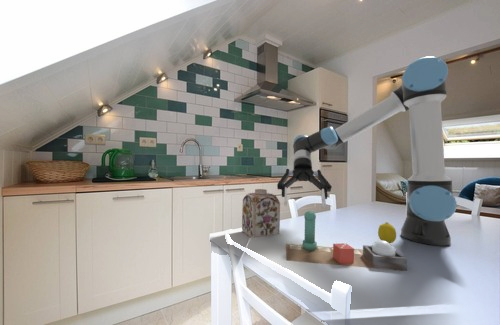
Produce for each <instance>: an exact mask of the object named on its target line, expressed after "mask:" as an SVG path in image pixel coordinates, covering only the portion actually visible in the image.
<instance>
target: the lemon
mask: <svg viewBox="0 0 500 325" xmlns="http://www.w3.org/2000/svg"><path fill="white" fill-rule="evenodd" d="M377 234H378V239H379V241H381V240H383V241H386V242H388V243H390V244H393V243H394V242H395V241H396V239H397V232H396V228H395V227H394V226H393V225H392V224H390V223H389V222H386V221H385V223H381V224H380V225H379V226H378V231H377Z"/></svg>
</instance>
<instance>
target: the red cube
mask: <svg viewBox="0 0 500 325" xmlns="http://www.w3.org/2000/svg"><path fill="white" fill-rule="evenodd" d="M332 247H333V258H334V259H335V260H337V261H338V262H339V263H340V264H344V263H354V249H355V248H353V247H352V246H351V245H349V244H348V243H347V242H346V243H332Z"/></svg>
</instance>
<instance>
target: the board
mask: <svg viewBox="0 0 500 325" xmlns="http://www.w3.org/2000/svg"><path fill="white" fill-rule="evenodd" d="M302 246H303V244H295V243H294V244H292V243H285V253H286V254H285V258H286V261H288V262H298V263H310V264H321V265H332V266H333V265H335V266H342V267H343V266H345V267H355V268H368V269H376V270H377V269H378V270H381V269H382V270H388V271H389V270H391V271H399V272H404V271H407V270H408V268H407V267H408V258H406V256H404V255H402V254H401V252H399V251H397V250H396V249H395V257H393V256H380V255H375V254H374V253H373V252H372V245H369V244H367V245H364V244H363V245H362V249H359V248H354V263H344V264H340V263H339V262H338V261H337V260H335V259H334V258H333V246H332V247H331V246H321V245H320V246H319V245H317V249H316V250H315V251H308V250H305V249H303V248H302Z"/></svg>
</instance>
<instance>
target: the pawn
mask: <svg viewBox="0 0 500 325" xmlns="http://www.w3.org/2000/svg"><path fill="white" fill-rule="evenodd" d="M316 217H317V216H316V213H315V212H314V211H312V210H307V211H306V212H305V213H304V239H303V240H302V245H303V246H302V248H303V249H305V250H308V251H315V250H316V249H317V246H318V245H317V243H318V242H317V241H316V240H315V239H316Z"/></svg>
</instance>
